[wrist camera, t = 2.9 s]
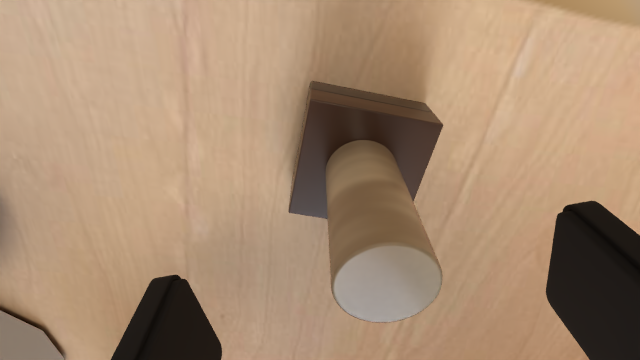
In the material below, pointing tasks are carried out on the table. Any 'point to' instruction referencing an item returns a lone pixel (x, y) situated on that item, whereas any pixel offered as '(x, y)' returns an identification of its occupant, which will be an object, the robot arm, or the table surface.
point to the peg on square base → (369, 198)
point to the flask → (24, 341)
